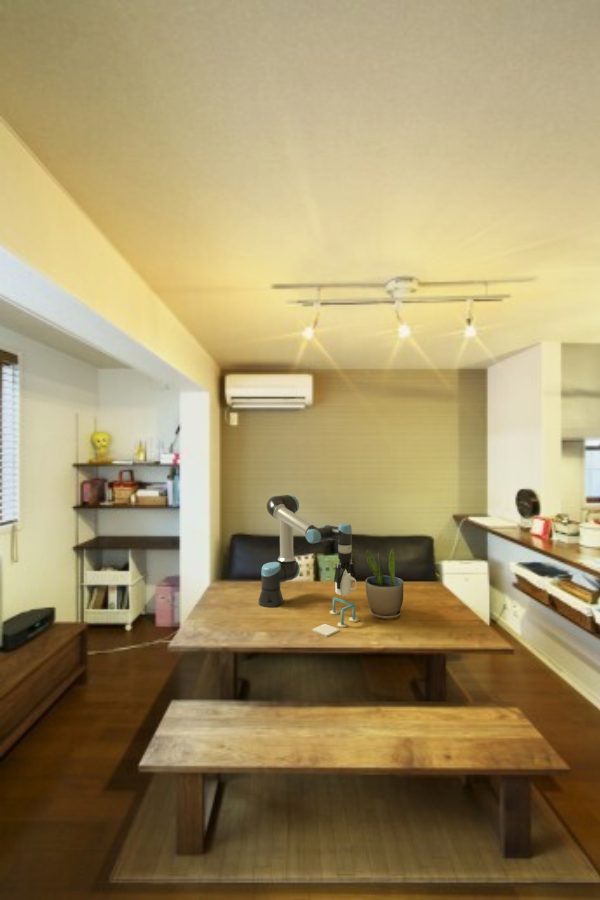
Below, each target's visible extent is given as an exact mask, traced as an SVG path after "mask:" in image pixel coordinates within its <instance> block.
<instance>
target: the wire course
mask: <svg viewBox="0 0 600 900" xmlns="http://www.w3.org/2000/svg"><path fill="white" fill-rule="evenodd" d="M337 602H339V603H341V604H344V605H347V606H344V607H342V608H341V610H340V613H339V611H338V610H337V607H336V606H337V605H336V604H337ZM350 609H351V610H352V612H351V613H352V616H351V617H349V619H348V621H349V622H351V623H358V622H359V617H356V604H355V602H351V601H349V600H344V599H341V598H339V597H335V596H334V597H333V598H332V609H331V610H330V611H329V614H330V615H332V616H337V615H339V614H340V622H338V623H337V628H338V627H339V629H340V628H343V629H344V628H347V627H348V624H347V623H346V622H345V612H346V611H347V610H350Z"/></svg>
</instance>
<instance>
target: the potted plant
mask: <svg viewBox="0 0 600 900" xmlns="http://www.w3.org/2000/svg"><path fill="white" fill-rule="evenodd" d="M377 558H378V559H377V560H378V562H379V564H377V562H376V561H375V558H374V557H373V555H372V554H371V552H370V551H369V550H368V549H367V550H366V561H367V565H368V567H369V569H370V570H371V572H372V573H373V575H374V576H373V575H372V576H369V577H367V578H366V579H365V593H366V594H365V595H366V600H367V604H368V606H369V608H370V609H369V613H370V614H371V615H372V616H373V617H375V618H377V619H382V620H395V619H397V618H399V617H400V616H401V615H402V610H401V608H402V606H403V602H404V601H403V600H404V580H403V579H402V578H399V577H396V576H395V575H396V573H395V572H396V571H395V570H396V569H395V568H396V567H395V566H396V563H395V553H394V548H392V549H391V550H390V553H389V560H388V572H389V575H384V571H383V565H382V562H381V558H380V554H379V553H377Z"/></svg>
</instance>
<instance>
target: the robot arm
mask: <svg viewBox="0 0 600 900" xmlns="http://www.w3.org/2000/svg"><path fill="white" fill-rule="evenodd" d="M299 508H300V503H299V500H298V499H297V497H296V496H295V495H292V494H282V495H275V496H274V495H273V496H272V497H270V498H269V499H268V501H267V503H266V510H267V512H268V513H269V515H270V516H271V517H273V518H274V519H277V520H278V519H279V557H278V558H277V561H271V562H267V563H264V564H263V565H262V567H261V574H260V575H261V578H260V579H261V587H260V589H261V590H260V594H259V597H258V599H257V600H258V602H257V603H258V605H259V606H261V607H266V608H274V607H278V606H281V605H283V604H284V598H283V597H284V596H283V594H282V590H281V584H282V583H285V582H288V581H292V580H293V579H296V578H297V577H298V576H299V574H300V571H301V569H300V568H301V567H300V564H299V562H298V561H297V559H296V557H295V556H294V530H296V531H297V532H299V533H300V534H301V535H303V536H305V540H306V541H307V542H308V543H309V544H317V543H320V542H325V541H329V540H336V541H337V542H338V543H337V546H338V547H337V551H338V553H337V554H338V555H337V557H338V560H339V561H338V563H335V569H334V570H335V571H334V579H333V582H334V583H335V582H336V583H337V594H336V595H338V594H339V595H338V596H343V595H342V583H341V580H342V577H343V573H344V572H347V573H348V574H349V573H350V574H351V576H352V577H353V578H356V570H355V560H353V555H352V551H353V550H352V544H353V543H352V539H353V538H352V537H353V536H352V535H353V530H352V529H353V528H352V525H351V524H349V523H339V524H338V525H337V526H334V525H329V524H323V525H322V526H321V527H317V526H316V525H313V524H312V523H310V522H309V521H308V520H305V519H304V518H303V517H301V516H299V515H298V514H297V512H298V511H299ZM353 584H354V580H351V588H354V587H353Z"/></svg>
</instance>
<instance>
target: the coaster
mask: <svg viewBox="0 0 600 900" xmlns="http://www.w3.org/2000/svg"><path fill="white" fill-rule="evenodd" d="M311 632H314V633H316V634H319V635H322V636H323V637H325V638H328V637H329V636H332V635H334V634H336V633H338V632H340V628H338V627H335V626H332V625H329V624H326V623H323V624H320V625H318V626H316V627H314V628H312V629H311Z"/></svg>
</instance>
